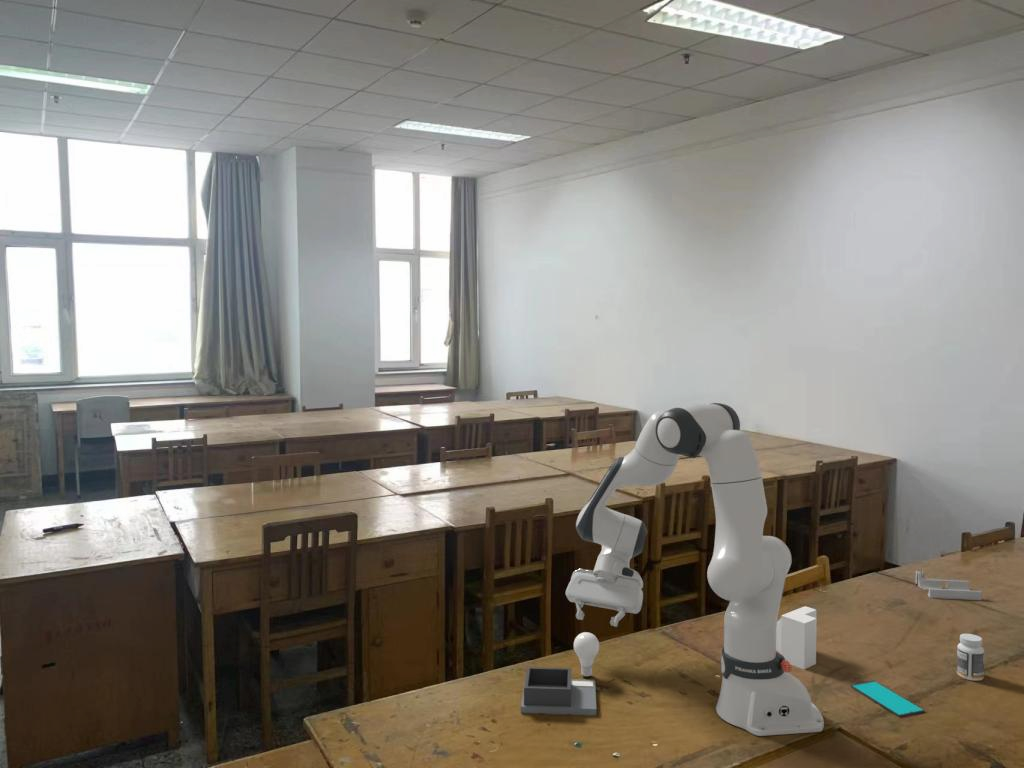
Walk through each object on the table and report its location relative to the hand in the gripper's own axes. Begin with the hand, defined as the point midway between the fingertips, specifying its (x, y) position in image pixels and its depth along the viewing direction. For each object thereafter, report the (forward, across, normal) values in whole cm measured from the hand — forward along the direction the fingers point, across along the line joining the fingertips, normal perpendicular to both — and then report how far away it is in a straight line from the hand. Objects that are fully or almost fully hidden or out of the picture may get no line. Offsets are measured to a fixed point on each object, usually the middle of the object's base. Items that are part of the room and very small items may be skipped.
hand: (596, 621), depth 190 cm
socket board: (+22, -1, -6) cm, 23 cm away
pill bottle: (-18, +83, +35) cm, 92 cm away
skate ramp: (-64, +80, +82) cm, 131 cm away
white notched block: (-13, +44, +30) cm, 55 cm away
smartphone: (-2, +66, +20) cm, 69 cm away
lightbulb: (+13, 0, +4) cm, 13 cm away
